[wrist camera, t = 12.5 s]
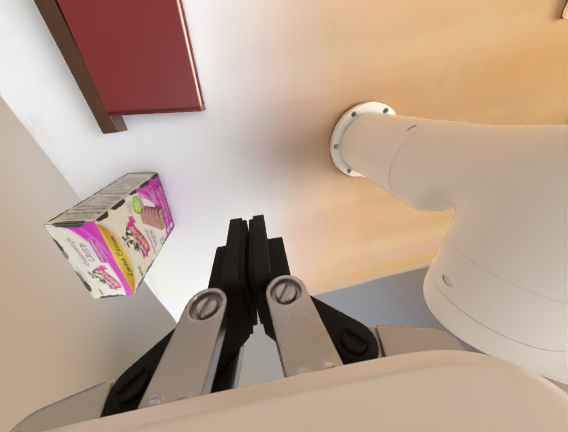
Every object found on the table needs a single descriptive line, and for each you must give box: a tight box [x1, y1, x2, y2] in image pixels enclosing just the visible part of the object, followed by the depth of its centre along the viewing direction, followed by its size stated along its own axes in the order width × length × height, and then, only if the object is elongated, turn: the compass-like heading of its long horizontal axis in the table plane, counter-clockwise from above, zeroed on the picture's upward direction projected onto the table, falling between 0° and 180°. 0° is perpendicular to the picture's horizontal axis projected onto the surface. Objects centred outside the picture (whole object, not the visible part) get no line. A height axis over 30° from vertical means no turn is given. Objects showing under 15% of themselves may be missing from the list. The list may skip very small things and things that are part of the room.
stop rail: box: [34, 0, 127, 134], centre depth 24 cm, size 2×20×2 cm, turn 4°
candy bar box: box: [44, 173, 174, 299], centre depth 29 cm, size 11×5×16 cm, turn 178°
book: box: [57, 0, 205, 116], centre depth 24 cm, size 12×16×3 cm
